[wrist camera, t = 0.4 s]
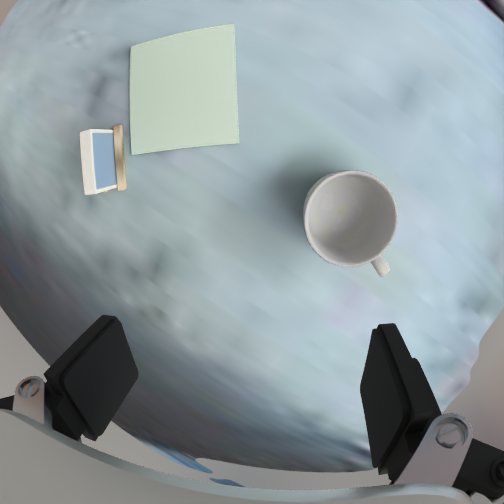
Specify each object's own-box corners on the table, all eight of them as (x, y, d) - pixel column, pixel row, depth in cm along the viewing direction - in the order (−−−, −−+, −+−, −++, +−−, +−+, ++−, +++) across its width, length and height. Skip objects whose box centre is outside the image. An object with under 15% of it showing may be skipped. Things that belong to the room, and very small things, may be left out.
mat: (132, 47, 31) (130, 46, 31) (234, 24, 29) (233, 23, 29) (133, 155, 37) (131, 155, 37) (239, 143, 35) (238, 143, 35)
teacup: (287, 187, 36) (286, 197, 29) (360, 153, 33) (378, 154, 26) (329, 276, 40) (337, 304, 32) (396, 245, 37) (417, 267, 29)
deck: (106, 132, 37) (79, 132, 31) (116, 129, 36) (90, 129, 30) (110, 187, 40) (85, 195, 34) (120, 186, 39) (95, 193, 33)
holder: (99, 131, 37) (95, 131, 36) (122, 125, 36) (118, 124, 35) (104, 191, 40) (100, 192, 39) (126, 189, 39) (123, 190, 38)
